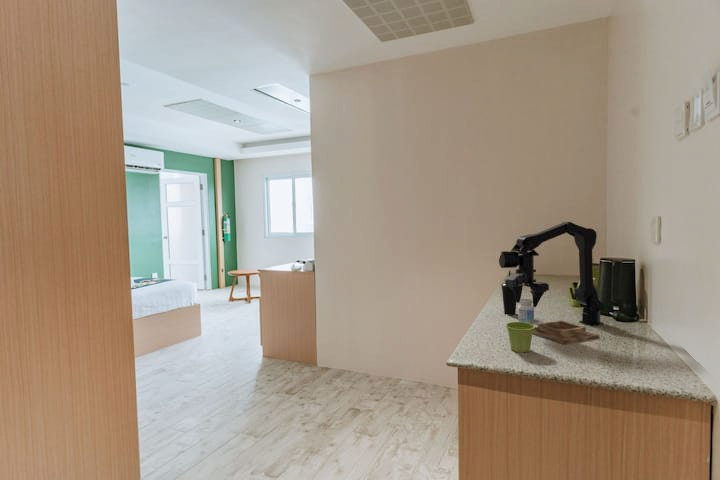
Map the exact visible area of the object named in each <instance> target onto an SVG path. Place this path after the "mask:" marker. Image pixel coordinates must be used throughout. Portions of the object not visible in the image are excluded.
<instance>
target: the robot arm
mask: <svg viewBox="0 0 720 480" xmlns="http://www.w3.org/2000/svg"><path fill="white" fill-rule="evenodd" d="M565 234H567V235H570V236H571V237H573V239H574V243H575V246H576V247H577V249H578V259H579V261H578V264H579V265H578V267H579V285H578V286H577V287H574V289H573V290H574V298H575V300H576V302H577V303H579V304H578V305H579V307H581V308H582V313H581V314H582V316H581V317H582V318H581V320H580V321H579V323H581V324H585V325H587V326H592V327H593V326H599V325H605V323H604V322H602V321H601V312H604V310H605V307H606V305H605V304H604V303H603V302H601V301H600V300H599V294H598V290H597V289H596V287H595V285H594V266H593V265H594V264H593V262H594V261H593V250H594V247H595V246H596V243H597V237H598V235H597V231H595V229H593V228H590V227H589V228H588V227H584V226H581V225H577V224H576V223H574V222H572V221H562V222H561V223H559V224H557V225H553V226H552V227H550V228H546V229H545V230H541V231H540V232H535V233H532V234H531V233H530V234H525V235H521V236H519V237H517V240H516V241H515V244H514V246H512V248H511V250H509V251H506V250H502V251H501V252H500V255H499V258H498V264H499V266H500V268H502V269H510V268H511V269H512V268H513V269H514V268H517V267H518V268H517V269H516V270H515V273H513V274H510V276H509V275H508V277H506V278H505V280H504V283H505V285H508V287H509V288H511V289H512V291H513V293H514V296H515V298H516V301H517V303H516V304H520V299H522V292H523V286H524V287H528V288H530V291H529V292H530V293H531V295H532V306H533V307H534V308H536V307H537V306H538V304H539V302H540V300H541V298H542V297H543V295H544V294H545V293H547V291H550V285H549V284H548V283H547V282H543V281H537V279H534V274H535V273H536V272H537V269H535V268H534V265H535V264H534V262H535V261H534V257H537V256H539V255H540V253H538V252H537V251H536V250H535V249H536V248H538V247H540V246H541V244H543V243H544V242H547V241H550V240H552V239H555V238H557V237H559V236H561V235H565Z"/></svg>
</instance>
